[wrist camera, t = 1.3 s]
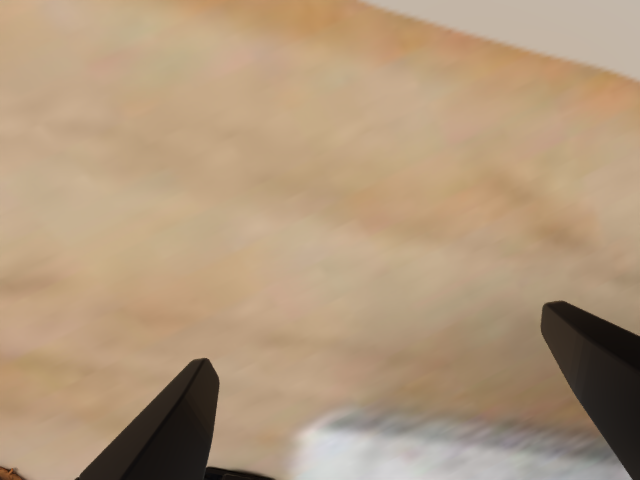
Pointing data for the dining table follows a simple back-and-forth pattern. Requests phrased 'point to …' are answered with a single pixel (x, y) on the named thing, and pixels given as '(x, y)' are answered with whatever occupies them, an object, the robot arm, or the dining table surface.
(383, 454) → the dining table surface
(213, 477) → the robot arm
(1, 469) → the cream topped pie
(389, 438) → the dining table surface
